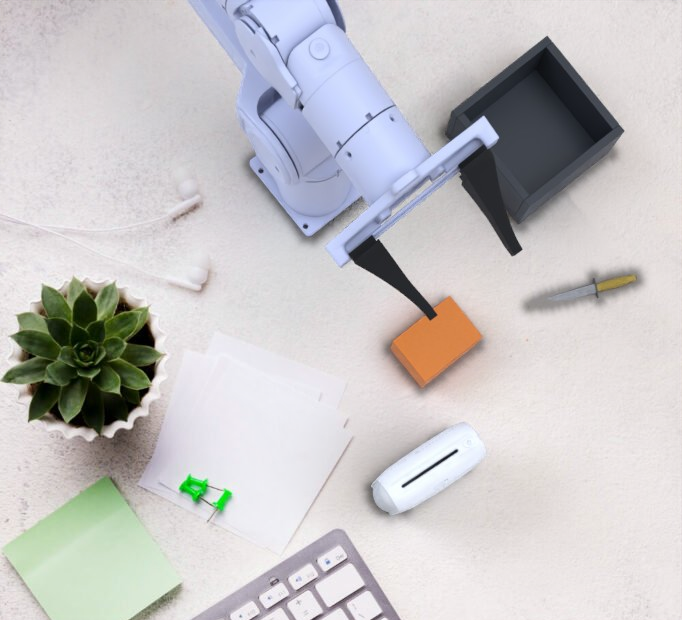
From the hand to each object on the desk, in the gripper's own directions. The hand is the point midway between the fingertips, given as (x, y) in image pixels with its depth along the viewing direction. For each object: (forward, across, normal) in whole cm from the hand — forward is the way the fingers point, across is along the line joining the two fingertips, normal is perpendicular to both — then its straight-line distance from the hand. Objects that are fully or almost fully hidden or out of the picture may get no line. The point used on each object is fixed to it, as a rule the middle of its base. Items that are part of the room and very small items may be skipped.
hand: (475, 286), depth 64 cm
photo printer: (+12, -14, +16) cm, 24 cm away
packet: (+3, -5, +19) cm, 20 cm away
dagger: (+8, +9, +22) cm, 25 cm away
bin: (-7, +14, +25) cm, 29 cm away
